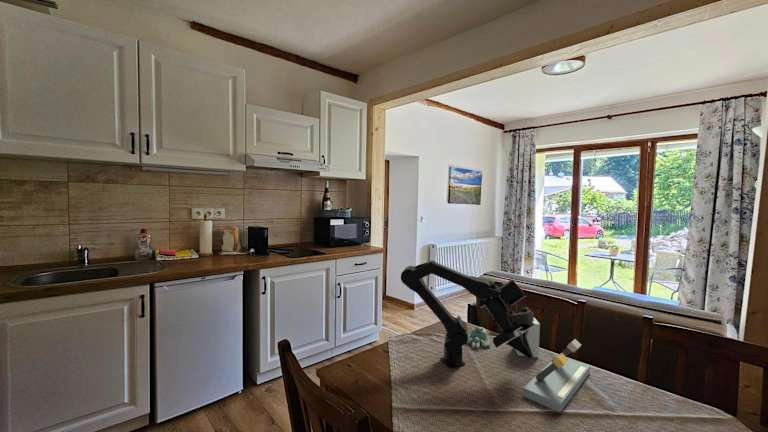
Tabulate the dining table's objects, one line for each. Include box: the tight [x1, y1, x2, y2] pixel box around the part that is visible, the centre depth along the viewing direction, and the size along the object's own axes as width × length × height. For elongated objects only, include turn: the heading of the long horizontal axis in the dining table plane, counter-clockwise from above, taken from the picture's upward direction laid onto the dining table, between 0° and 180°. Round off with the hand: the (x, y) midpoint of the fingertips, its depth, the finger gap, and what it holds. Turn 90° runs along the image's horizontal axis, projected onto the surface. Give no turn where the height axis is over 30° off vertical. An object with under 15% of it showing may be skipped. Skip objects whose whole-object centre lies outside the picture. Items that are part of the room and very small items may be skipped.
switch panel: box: [522, 354, 591, 413], centre depth 101 cm, size 10×30×3 cm, turn 134°
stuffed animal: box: [466, 325, 493, 349], centre depth 128 cm, size 11×7×12 cm
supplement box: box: [514, 317, 541, 358], centre depth 122 cm, size 7×7×13 cm
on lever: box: [551, 338, 582, 363], centre depth 106 cm, size 2×4×11 cm
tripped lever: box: [535, 352, 569, 382], centre depth 96 cm, size 2×4×11 cm
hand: (531, 357), depth 100 cm, fingers closed
